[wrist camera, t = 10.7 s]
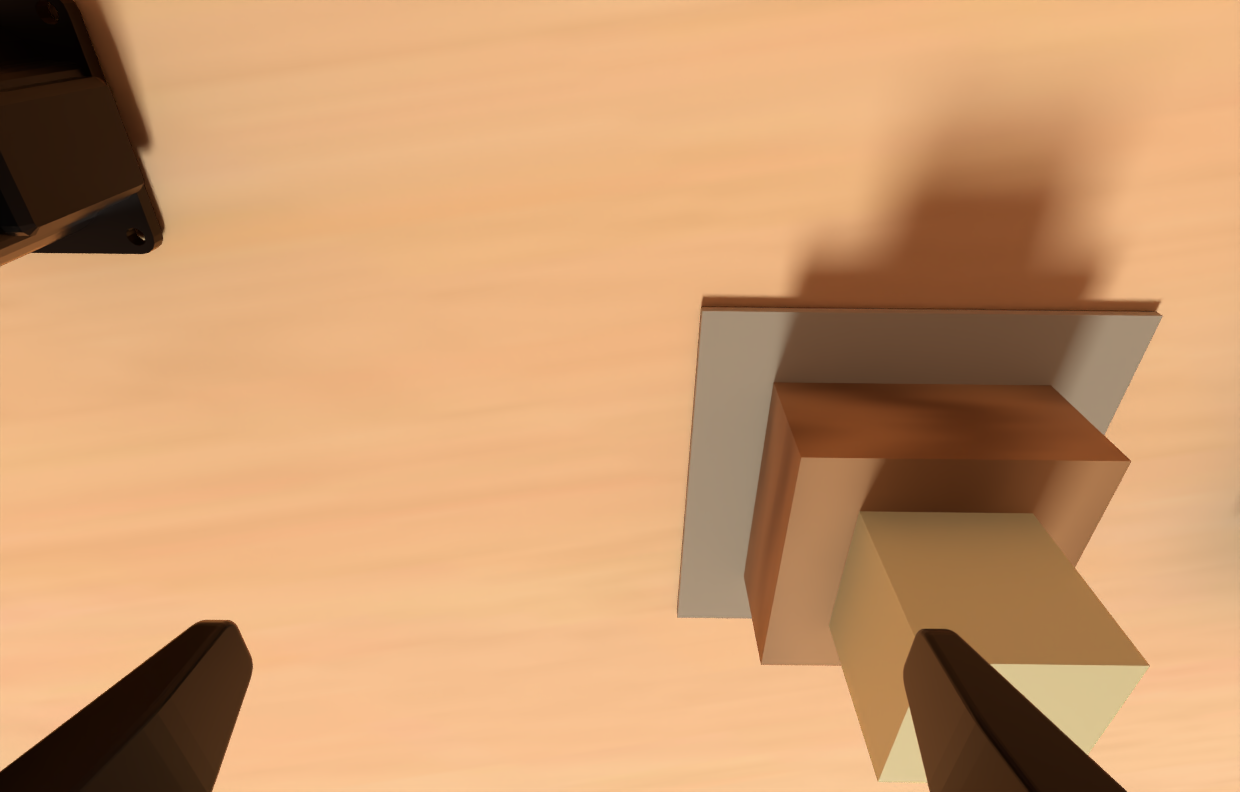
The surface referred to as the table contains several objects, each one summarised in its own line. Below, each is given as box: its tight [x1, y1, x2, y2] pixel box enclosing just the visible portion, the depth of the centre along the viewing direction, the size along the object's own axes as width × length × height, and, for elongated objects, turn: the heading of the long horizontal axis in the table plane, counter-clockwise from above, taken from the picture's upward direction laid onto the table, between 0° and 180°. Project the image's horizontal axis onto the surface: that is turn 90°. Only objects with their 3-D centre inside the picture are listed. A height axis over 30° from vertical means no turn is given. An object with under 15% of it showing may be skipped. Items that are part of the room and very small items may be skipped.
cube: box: [829, 511, 1150, 783], centre depth 18 cm, size 5×5×5 cm
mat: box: [677, 307, 1162, 618], centre depth 24 cm, size 14×14×1 cm
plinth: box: [744, 382, 1131, 666], centre depth 22 cm, size 9×9×4 cm
